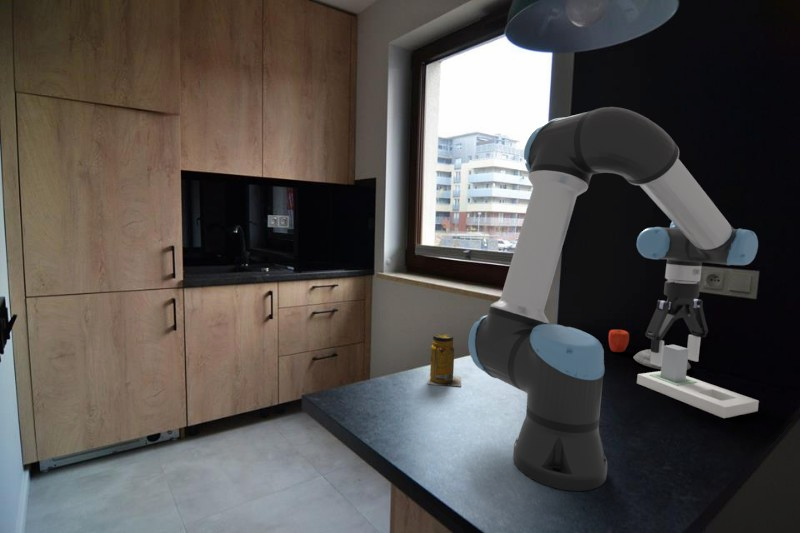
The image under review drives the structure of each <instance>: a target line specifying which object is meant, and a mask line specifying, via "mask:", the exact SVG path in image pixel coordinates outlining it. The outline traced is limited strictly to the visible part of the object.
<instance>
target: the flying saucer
mask: <svg viewBox="0 0 800 533" xmlns="http://www.w3.org/2000/svg"><path fill="white" fill-rule="evenodd" d="M633 359H634V360H635V361H636V363H638V364H641V365H643V366H645V367H649V368H652V369H655V370H660V371H661V366H657V365H654V364H651V363H650V359H651V348H650V349H644V350H640V351H639V352H637V353H636V354H635V355H634V356H633ZM691 368H692V366H691V364H690V363H689V361H687V371H688V370H690V369H691Z"/></svg>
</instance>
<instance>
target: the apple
mask: <svg viewBox="0 0 800 533" xmlns="http://www.w3.org/2000/svg"><path fill="white" fill-rule="evenodd" d="M629 341H630V333H629V332H628V331H626V330H623V329H610V330H609V332H608V345H609V348H610V350H611V352H613V353H623V352H625V351H626V348H627V346H628V345H629Z"/></svg>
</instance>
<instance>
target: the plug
mask: <svg viewBox="0 0 800 533" xmlns="http://www.w3.org/2000/svg"><path fill="white" fill-rule="evenodd" d="M688 351H689V349H688V348H687V347H683V346H680V345H676V344H669V345H667V344H666V345H664V350H663V360H662V366H661V370H660V371H661V375H660V378H663V379H666V380H669V381H671V382H674V383H680V382H685V381H686V376H687V371H688V370H687V361H688V360H689V359H688ZM688 362H689V361H688Z"/></svg>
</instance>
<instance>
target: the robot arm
mask: <svg viewBox="0 0 800 533" xmlns="http://www.w3.org/2000/svg"><path fill="white" fill-rule="evenodd" d="M679 158H680V149H679V147H678V145H677V144H676V142H675V141H674V140H673V139H672V137H671V136H670V135H669V133H667V131H665V130H664V129H663V128H662V127H660V126H659V125H658V124H656V123H655V122H653V121H652V120H650V119H649V118H647V117H645V116H644V115H642V114H640V113H638V112H635V111H633V110H630V109H626V108H623V107H616V106H609V107H608V106H607V107H605V106H604V107H600V108H596V109H594V110H590V111H587V112H582V113H579V114H575V115H571V116H567V117H566V116H565V117H557V118H553V119H551V120H550V121H547V122H544V123H542V124H540V125H538V126H537V127H536V128H535V129H533V131H532V132H531V133H530V134H529V136H528V138H527V139H526V143H525V146H524V151H523V159H524V160H525V161H526V162H525V168H526V170H527V172H528V177H527V178H528V181H529V182H530V184H531V185H532V190H531V193H530V196H529V197H530V198H529V201H528V203H527V207H526V211H525V214H524V217H523V221H522V224H521V228H520V231H519V235H518V238H517V241H516V245H515V247H514V248H515V249H514V252H513V255H512V258H511V261H510V264H509V269H508V272H507V275H506V279H505V282H504V286H503V290H502V292H501V294H500V295H501V296H500V298H499V300H498V301H497V300H496V301H495V302H493V303H491V304H490V306H489V308H488V309H489V310H488V312H487V315H483V316H481V317H480V318H479V319H478V321H477V320H476V321H475V322H474V323H473V325H472V326H471V329H470V332H469V336H468V342H467V343H468V351H469V352H468V353H469V354H470V355H469V356H470V357H471V360H472V362H473V363H474V365H475V366H476V367H477V368H478V369H480V370H481V371H482V372H485V374H487V375H488V376H490V377H491V378H494V379H497V380H500V381H502V382H504V383H506V384H508V385H510V386H512V387H514V388H516V389H518V390H520V391H522V392H524V393H526V395H527V396H526V411H525V412H526V413H525V417H524V420H523V422H522V425H521V428H520V432H519V434H518V436H517V437H516V438H515V440H514V444H513V455H512V459H513V462H514V464H515V466H516V467H517V468H518V470H520V471H521V472H522V473H523V474H524V475H526V476H527V477H529V478H530V479H531V480H534V481H535V482H538V483H540V484H543V485H546V486H548V487H551V488H556V489H559V490H565V491H576V492H580V491H590V490H594V489H596V488H600V486H602V485H603V484H605V482H606V480H607V477H608V476H607V475H608V460H607V457H606V455H605V453H604V447H603V442H602V438H601V434H600V430H599V427H600V414H601V413H600V412H601V405H602V404H601V401H602V391H603V381H604V380H603V379H604V374H605V372H606V371H605V364H604V363H605V360H604V359H605V357H604V356H605V355H604V353H605V351H604V348H603V344H602V343H601V342H600V341H599V339H597V338H596V337H595V336H593V335H592V334H589V333H587V332H585V331H583V330H581V329H578V328H575V327H571V326H564V325H561V324H556V323H555V324H554V323H550V321H549V319H548V318H547V316H546V314H545V308H546V304H547V301H548V298H549V294H550V290H551V289H552V288H551V287H552V284H553V281H554V277H555V274H556V271H557V267H558V264H559V259H560V256H561V252H562V248H563V245H564V242H565V240H566V236H567V233H568V232H567V231H568V229H569V225H570V221H571V218H572V215H573V212H574V208H575V204H576V200H577V197H578V196H580V195H581V194H583V193H585V192H587V190H588V188H589V185H590V181H591V178H592V176H593V175H597V174H604V173H606V174H607V173H608V174H616V175H619V176H621V177H623V178H624V179H625V180H626V182H628V183H629V184H631V185H634V186H639V187H640V188H641V189H642V190H643V191H644V192H645V193H646V195H648V197H649V198H650V199H651V200H652V201H653V202H654V203H655V204H656V205H657V207H658V208H659V209H660V210H661V211H662V212H663V213H664V214H665V215H666V216H667V217H668V219H669V220H671V223H670V225H669V227H661V226H655V227H647V228H645V229H643V231H641V232H640V233H639V235H638V236H637V240H636V248H637V251H638V253H639V254H640V255H641V256H642V257H643V258H646V259H651V260H658V261H659V260H666V266H665V274H664V279H666V281H664V289H663V294H664V296H667V299H666V300H660V299H658V300H657V301H656V302H657V303H656V307H655V311H654V313H653V315H652V317H651V319H650V322H649V325H648V326H647V329H646V331H645V334H644V335H645V337H647V338H648V339H651V340H650V349H651V359H650V363H651V364H654V365H657V366H662V360H663V350H664V346H665V340H663V338H665V335H666V334H667V332H668V331H669V330H670V328H671V327H672V325H673V324H674V322H675V321H677V320H679V319H682V318H683V320H684V322H685V323H686V326H687V328H688V330H689V332H690V333H691V334H688V335H687V347H686V348H688V349H689V351H688V360H689V361H693V362H699V356H700V347H701V341H702V338H706V337H707V334H708V332H709V328H708V325H707V322H706V321H707V320H706V317H705V312H704V307H703V305H704V303H703V302H704V301H703V300H702V299H700V298H699V296H700V288H701V285H700V283H698V282H700V281H701V276H702V275H701V274H702V266H703V263H708V264H717V265H718V264H719V265H726V266H731V265H732V266H746V265H749V264H751V263H752V262H753V261H754V259H755V258H756V255H757V253H758V249H759V240H758V236H757V235H756V233H755V232H754V231H752V230H749V229H743V228H738V229H736V228H734V227H733V226H732V225H731V224H730V223H729V222H728V220H727V219H726V217H725V216H724V215H723V213H721V211H720V210H719V209H718V207H717V206H716V205H715V203H714V201H713V200H712V199H711V198H710V197H709V195H707V193H706V191H704V190H703V188H702V187H701V185H700V184H699V183H698V182H697V180H696V179H695V178H694V176H693V175H692V174H691V173H690V172H689V170H688V168H686V166H685V165H684V164H683V163H682V161H681V160H680V159H679ZM698 298H699V299H698Z"/></svg>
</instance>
